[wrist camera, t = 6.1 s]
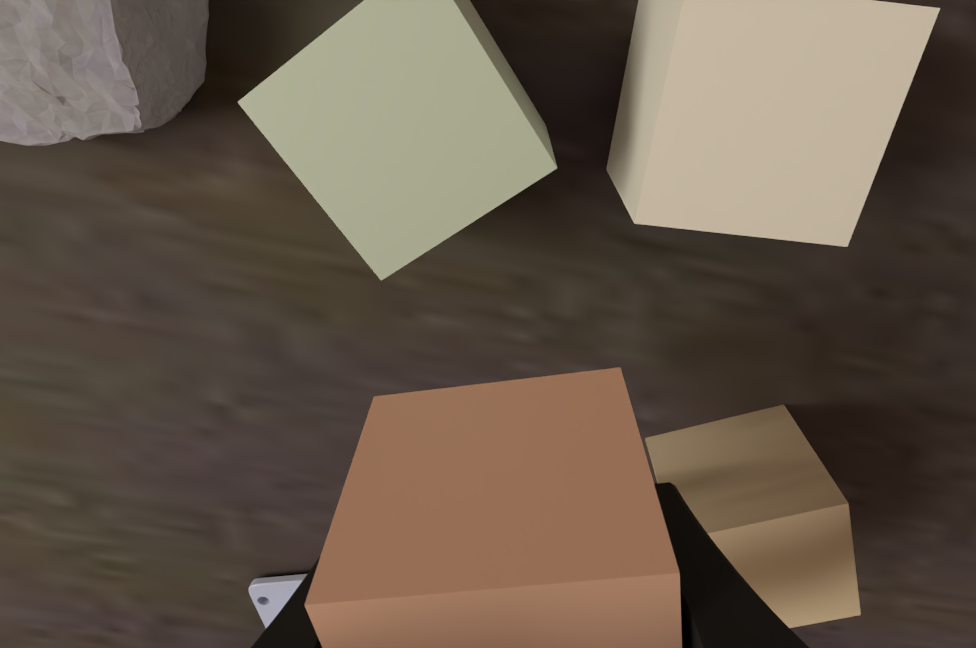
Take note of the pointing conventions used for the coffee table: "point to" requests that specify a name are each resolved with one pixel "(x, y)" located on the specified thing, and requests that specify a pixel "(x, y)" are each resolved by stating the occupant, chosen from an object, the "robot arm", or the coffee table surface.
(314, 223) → the coffee table surface
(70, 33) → the stone block
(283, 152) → the sage cube
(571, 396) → the terracotta cube
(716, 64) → the cream cube
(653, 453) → the maple cube
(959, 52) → the coffee table surface
